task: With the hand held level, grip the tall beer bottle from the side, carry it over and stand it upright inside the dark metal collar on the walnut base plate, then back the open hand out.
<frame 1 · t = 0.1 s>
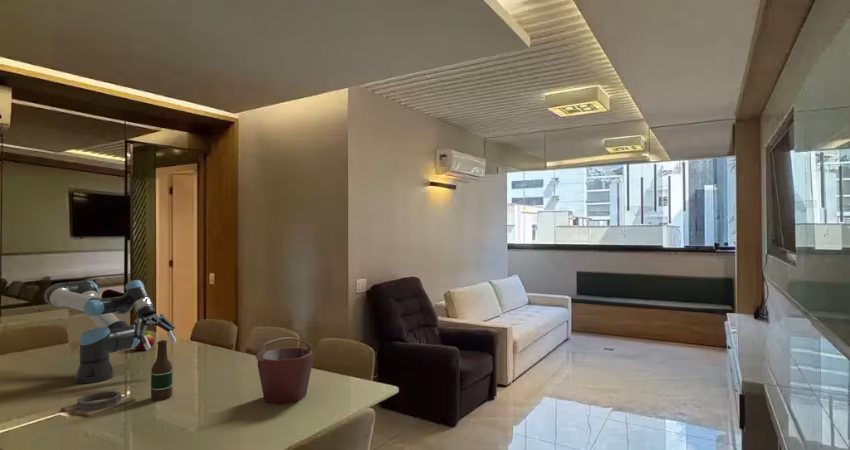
hand: (161, 346, 222), 15 cm above the table, tool tilted 35°, fingers open, 13 cm apart
bucket: (284, 397, 194), on the table
fruit: (143, 350, 277), on the table
collar stand: (99, 405, 185), on the table
beer bottle: (161, 398, 194), on the table
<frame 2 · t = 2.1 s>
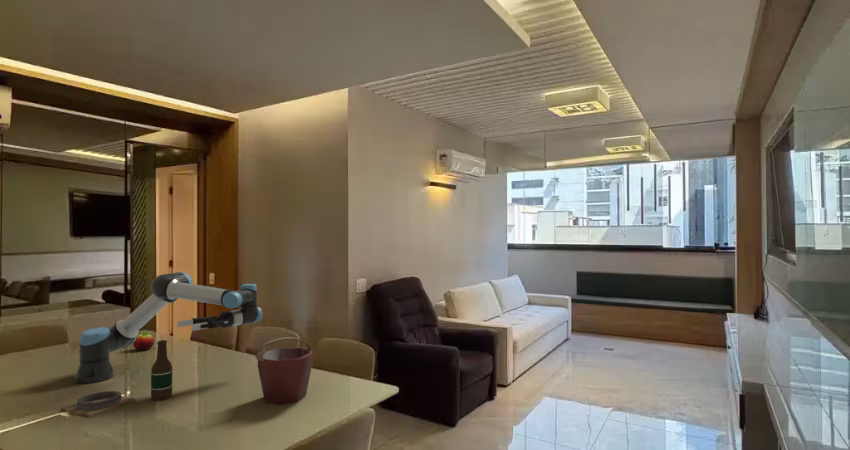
hand: (184, 326, 202), 29 cm above the table, tool horizontal, fingers open, 13 cm apart
nothing on the table moved.
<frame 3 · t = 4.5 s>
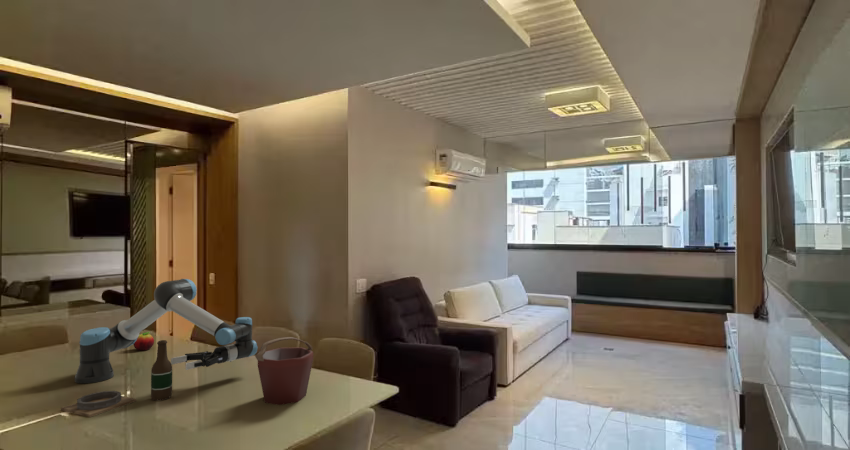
hand: (178, 364, 199), 13 cm above the table, tool horizontal, fingers open, 13 cm apart
nothing on the table moved.
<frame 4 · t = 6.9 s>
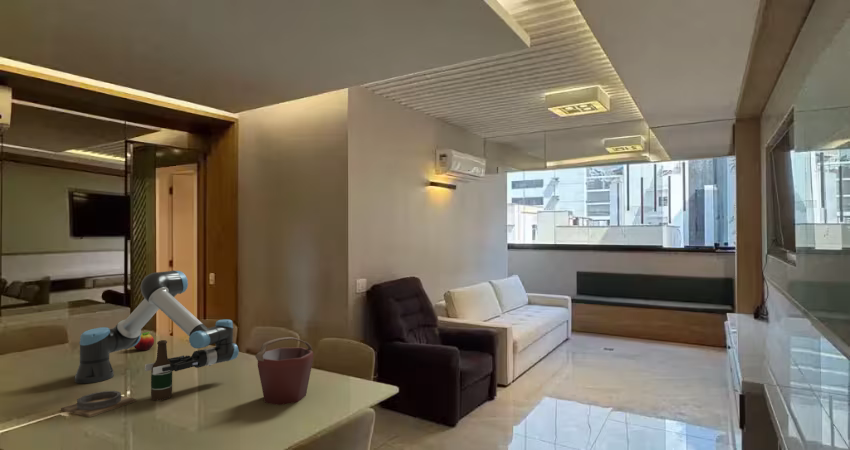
hand: (149, 369, 190), 13 cm above the table, tool horizontal, fingers closed on beer bottle, 7 cm apart
beer bottle: (161, 398, 194), on the table, touching gripper
everything else where it was.
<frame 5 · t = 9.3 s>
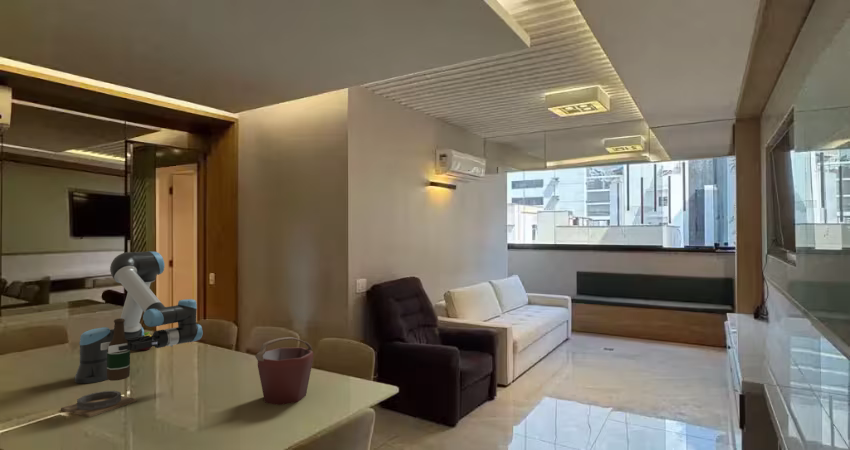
hand: (104, 348, 183), 24 cm above the table, tool horizontal, fingers closed on beer bottle, 7 cm apart
beer bottle: (118, 378, 187), point 10 cm above the table, touching gripper
everything else where it was.
when the fingers open (15 cm above the table, at t = 11.8 s): beer bottle drops 1 cm, resting on collar stand.
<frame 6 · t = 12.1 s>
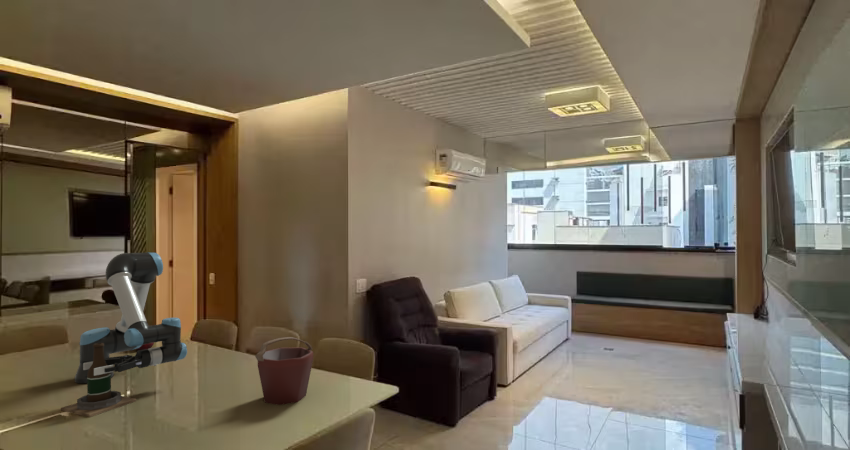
hand: (88, 369, 182), 15 cm above the table, tool horizontal, fingers open, 11 cm apart
beer bottle: (99, 403, 185), point 1 cm above the table, touching collar stand
everything else where it was.
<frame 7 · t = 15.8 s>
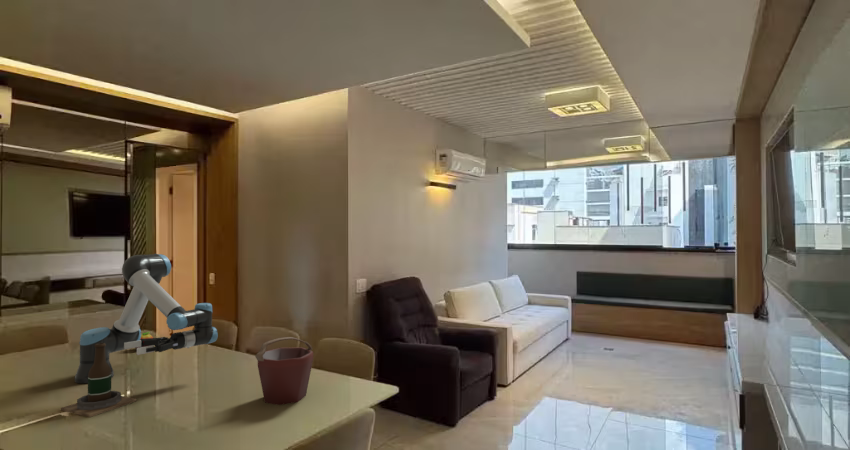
hand: (130, 348, 194), 21 cm above the table, tool horizontal, fingers open, 13 cm apart
nothing on the table moved.
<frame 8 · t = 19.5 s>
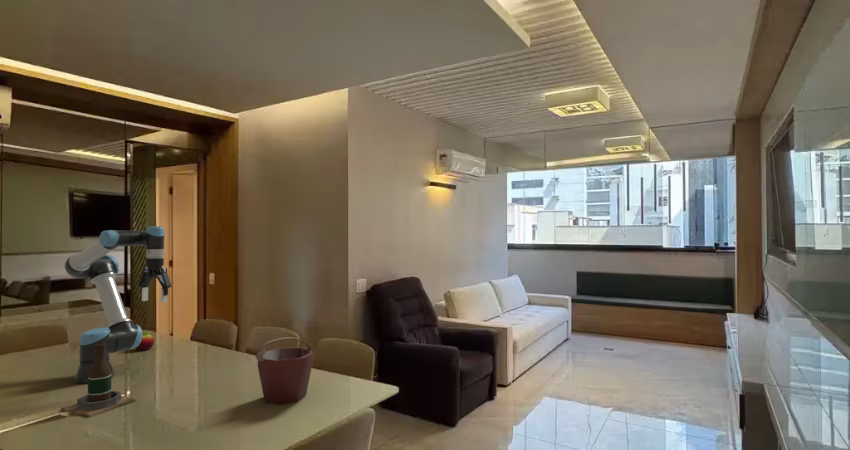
hand: (154, 301, 223), 37 cm above the table, tool pointing down, fingers open, 13 cm apart
nothing on the table moved.
at the end: beer bottle 0.0 cm off-centre on the collar stand, point 0.8 cm above the collar stand's base; beer bottle tilted 0°; the gripper is holding nothing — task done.
